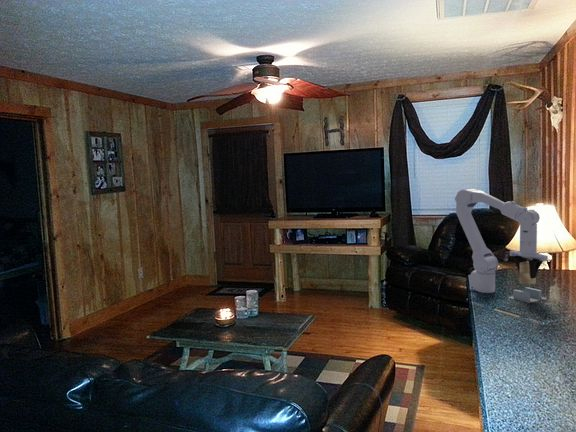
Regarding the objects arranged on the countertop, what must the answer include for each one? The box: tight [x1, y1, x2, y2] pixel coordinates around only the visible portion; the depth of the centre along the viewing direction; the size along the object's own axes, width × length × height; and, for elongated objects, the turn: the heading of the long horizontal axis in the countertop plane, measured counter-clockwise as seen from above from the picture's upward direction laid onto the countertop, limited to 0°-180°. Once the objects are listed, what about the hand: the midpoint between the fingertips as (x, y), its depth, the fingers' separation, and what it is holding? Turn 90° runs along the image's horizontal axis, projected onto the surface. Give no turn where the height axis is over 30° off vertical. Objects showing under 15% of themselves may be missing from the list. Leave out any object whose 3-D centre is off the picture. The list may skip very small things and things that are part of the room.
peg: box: [518, 260, 537, 286], centre depth 174 cm, size 4×4×8 cm
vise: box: [507, 286, 548, 304], centre depth 175 cm, size 9×11×4 cm
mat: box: [493, 308, 526, 319], centre depth 163 cm, size 10×14×1 cm
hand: (527, 276), depth 175 cm, fingers closed on peg, 4 cm apart
